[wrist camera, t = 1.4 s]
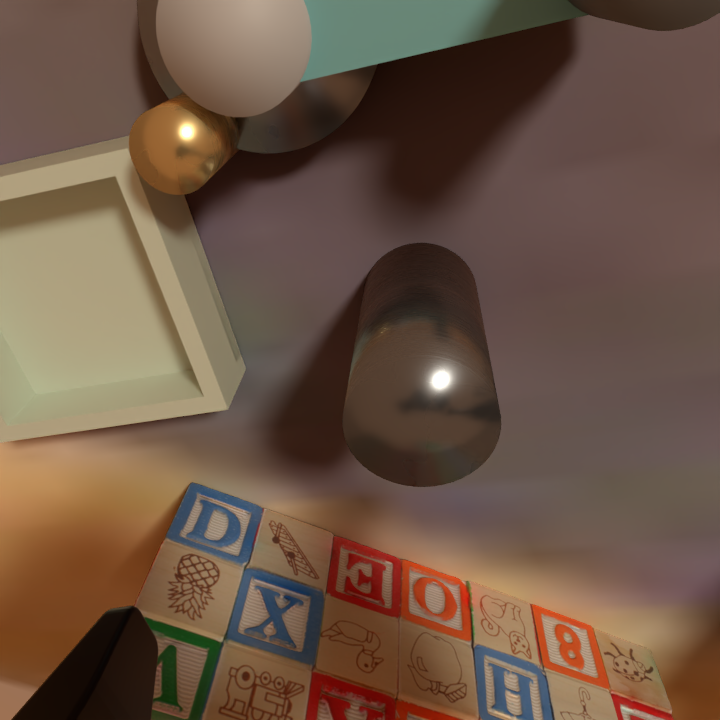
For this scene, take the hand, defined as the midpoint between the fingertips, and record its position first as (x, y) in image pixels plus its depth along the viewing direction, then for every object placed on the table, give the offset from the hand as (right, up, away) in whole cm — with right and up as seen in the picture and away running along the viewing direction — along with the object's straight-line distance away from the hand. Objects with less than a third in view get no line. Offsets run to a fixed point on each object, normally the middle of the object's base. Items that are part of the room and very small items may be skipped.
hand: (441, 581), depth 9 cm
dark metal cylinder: (+1, +5, +12) cm, 13 cm away
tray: (-10, +6, +12) cm, 17 cm away
